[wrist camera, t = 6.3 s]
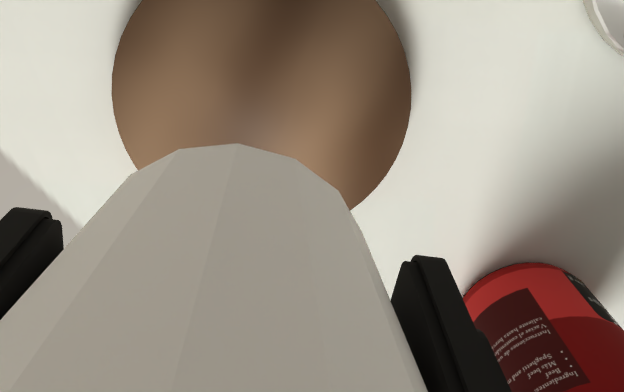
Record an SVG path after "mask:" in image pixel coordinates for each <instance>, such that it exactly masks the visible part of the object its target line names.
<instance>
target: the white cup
mask: <svg viewBox="0 0 624 392" xmlns="http://www.w3.org/2000/svg"><path fill="white" fill-rule="evenodd" d="M0 392H428V391H427V388H426V386H425V383H424V381H423V379H422V376H421V374H420V371H419V369H418V366H417V364H416V362H415V359H414V357H413V354H412V352H411V350H410V347H409V345H408V342H407V340H406V337H405V335H404V333H403V330H402V328H401V325H400V323H399V320H398V318H397V316H396V313H395V311H394V308H393V306H392V304H391V301H390V299H389V296H388V294H387V291H386V289H385V287H384V284H383V282H382V279H381V277H380V275H379V272H378V270H377V267H376V265H375V262H374V260H373V258H372V255H371V253H370V250H369V248H368V245H367V243H366V241H365V238H364V236H363V233H362V231H361V230H360V228H359V226H358V224H357V223H356V221H355V219H354V217H353V215H352V214H351V212H350V210H349V208H348V207H347V205H346V203H345V201H344V200H343V198H342V196H341V194H340V193H339V191H338V190H337V189H335V188H334V187H333V186H331V185H330V184H329V183H327V182H326V181H325V180H323V179H322V178H320V177H319V176H318V175H316V174H315V173H314V172H312V171H311V170H310V169H308V168H307V167H306V166H304V165H303V164H302V163H300V162H299V161H297V160H296V159H294V158H291V157H287V156H283V155H280V154H276V153H272V152H268V151H265V150H261V149H257V148H254V147H250V146H246V145H242V144H239V143H236V144H226V145H216V146H206V147H195V148H185V149H178V150H176V151H174V152H173V153H171V154H169V155H167V156H165V157H163V158H161V159H159V160H157V161H155V162H154V163H152V164H150V165H148V166H146V167H144V168H142V169H140V170H138V171H136V172H135V173H133V174H131V175H130V176H129V177H128V178H127V179H126V180H125V181H124V182H123V184H122V185H121V186H120V187H119V188H118V189H117V190H116V191H115V193H114V194H113V195H112V196H111V197H110V198H109V199H108V200H107V201H106V203H105V204H104V205H103V206H102V207H101V208H100V209H99V210H98V212H97V213H96V214H95V215H94V216H93V217H92V218H91V219H90V220H89V222H88V223H87V224H86V225H85V226H84V227H83V228H82V229H81V231H80V232H79V233H78V234H77V235H76V236H75V237H74V238H73V239H72V241H71V242H70V243H69V244H68V245H67V246H66V247H65V248H64V249H63V251H62V252H61V253H60V254H59V255H58V256H57V257H56V258H55V260H54V261H53V262H52V263H51V264H50V265H49V266H48V267H47V268H46V270H45V271H44V272H43V273H42V274H41V275H40V276H39V277H38V279H37V280H36V281H35V282H34V283H33V284H32V285H31V286H30V287H29V289H28V290H27V291H26V292H25V293H24V294H23V295H22V296H21V298H20V299H19V300H18V301H17V302H16V303H15V304H14V305H13V306H12V308H11V309H10V310H9V311H8V312H7V313H6V314H5V315H4V317H3V318H2V319H1V320H0Z"/></svg>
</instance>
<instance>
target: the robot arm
mask: <svg viewBox="0 0 624 392" xmlns="http://www.w3.org/2000/svg"><path fill="white" fill-rule="evenodd" d="M583 3H584V6H585V8H586V11H587V14H588V16H589V19H590V21H591V22H592V24H593V25H594V27H595V28H596V30H597V31H598V33H599V34H600V36H601V37H602V39H603V40H604V41H605V42H606V43H608V44H609V45H610V46H611V47H612V48H613V49H614V50H615V51H616V52H618V53H619V54H620V55H621V56H623V57H624V0H583ZM63 249H64V248H63V235H62V225H61V222H60V221H59V220H53V219H52V215H51V213H50V212H48V211H44V210H36V209H27V208H19V207H16V208H13V209H11V210H10V211H9V212H8V213H7V214H6V215H5V216H4V217H3V218H2V219H1V220H0V320H1V319H2V318H3V317H4V315H5V314H6V313H7V312H8V311H9V310H10V309H11V308H12V306H13V305H14V304H15V303H16V302H17V301H18V300H19V299H20V298H21V296H22V295H23V294H24V293H25V292H26V291H27V290H28V289H29V287H30V286H31V285H32V284H33V283H34V282H35V281H36V280H37V279H38V277H39V276H40V275H41V274H42V273H43V272H44V271H45V270H46V268H47V267H48V266H49V265H50V264H51V263H52V262H53V261H54V260H55V258H56V257H57V256H58V255H59V254H60V253H61V252H62V251H63ZM391 304H392V306H393V308H394V311H395V313H396V316H397V318H398V320H399V323H400V325H401V328H402V330H403V333H404V335H405V337H406V340H407V342H408V345H409V347H410V350H411V352H412V354H413V357H414V359H415V362H416V364H417V366H418V369H419V371H420V374H421V376H422V379H423V381H424V383H425V386H426V388H427V391H428V392H512V391H511V389H510V387H509V384H508V382H507V380H506V378H505V376H504V374H503V371H502V369H501V367H500V365H499V363H498V361H497V358H496V356H495V354H494V352H493V350H492V348H491V345H490V343H489V341H488V339H487V337H486V336H485V334H484V333H483V332H482V331H481V330H479V329H476V328H475V325H474V323H473V321H472V319H471V316H470V314H469V312H468V310H467V307H466V305H465V303H464V301H463V298H462V296H461V294H460V292H459V289H458V287H457V285H456V283H455V280H454V278H453V276H452V274H451V271H450V269H449V267H448V265H447V262H446V261H445V259H443V258H437V257H428V256H420V255H415V256H414V257H413V258H412V260H411V262H408V261H404V262H403V263H402V265H401V268H400V271H399V274H398V278H397V281H396V284H395V288H394V291H393V294H392V298H391Z"/></svg>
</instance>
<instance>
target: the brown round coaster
mask: <svg viewBox="0 0 624 392" xmlns="http://www.w3.org/2000/svg"><path fill="white" fill-rule="evenodd" d="M112 101H113V109H114V115H115V119H116V123H117V127H118V131H119V134H120V136H121V139H122V141H123V144H124V146H125V149H126V151H127V152H128V154H129V156H130V158H131V160H132V161H133V163H134V165H135V166H136V168H137V169H138V170H140V169H142V168H144V167H146V166H148V165H150V164H152V163H154V162H155V161H157V160H159V159H161V158H163V157H165V156H167V155H169V154H171V153H173V152H174V151H176V150H178V149H185V148H195V147H206V146H216V145H226V144H236V143H239V144H242V145H246V146H250V147H254V148H257V149H261V150H265V151H268V152H272V153H276V154H280V155H283V156H287V157H291V158H294V159H296V160H297V161H299V162H300V163H302V164H303V165H304V166H306V167H307V168H308V169H310V170H311V171H312V172H314V173H315V174H316V175H318V176H319V177H320V178H322V179H323V180H325V181H326V182H327V183H329V184H330V185H331V186H333V187H334V188H335V189H337V190H338V191H339V193H340V194H341V196H342V198H343V200H344V201H345V203H346V205H347V207H348V208H349V210H351V209H353V208H354V207H355V206H357V205H358V204H359V203H361V202H362V201H363V200H364V199H365V198H366V197H367V196H368V195H369V194H370V193H371V192H372V191H373V190H374V189H375V188H376V187H377V186H378V185H379V183H380V182H381V181H382V180H383V178H384V177H385V176H386V175H387V173H388V171H389V170H390V168H391V166H392V165H393V163H394V161H395V160H396V158H397V155H398V153H399V151H400V149H401V146H402V144H403V141H404V138H405V134H406V131H407V128H408V122H409V116H410V110H411V83H410V74H409V68H408V64H407V60H406V56H405V52H404V50H403V47H402V44H401V42H400V39H399V37H398V34H397V32H396V31H395V29H394V27H393V25H392V24H391V22H390V20H389V18H388V17H387V15H386V14H385V12H384V11H383V10H382V9H381V7H380V6H379V5H378V3H377V2H376V1H375V0H142V2H141V3H140V5H139V6H138V8H137V9H136V10H135V12H134V13H133V15H132V16H131V18H130V20H129V22H128V24H127V26H126V28H125V30H124V32H123V34H122V36H121V39H120V42H119V45H118V49H117V52H116V55H115V61H114V67H113V73H112Z"/></svg>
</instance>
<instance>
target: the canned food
mask: <svg viewBox="0 0 624 392" xmlns="http://www.w3.org/2000/svg"><path fill="white" fill-rule="evenodd" d="M463 301H464V303H465V305H466V307H467V310H468V312H469V314H470V316H471V319H472V321H473V323H474V325H475V328H476V329H479V330H481V331H482V332H483V333H484V334H485V336H486V337H487V339H488V341H489V343H490V345H491V348H492V350H493V352H494V354H495V356H496V358H497V361H498V363H499V365H500V367H501V369H502V371H503V374H504V376H505V378H506V380H507V382H508V384H509V387H510V389H511V391H512V392H624V330H623V329H622V328H621V327H620V326H619V325H618V323H617V322H616V321H615V320H614V319H613V317H612V316H611V315H610V314H609V313H608V312H607V310H606V309H605V308H604V307H603V306H602V305H601V303H600V302H599V301H598V300H597V299H596V297H595V296H594V295H593V294H592V293H591V292H590V290H589V289H588V288H587V287H586V286H585V285H584V283H583V282H582V281H581V280H579V279H578V278H576V277H575V276H573V275H572V274H570V273H568V272H566V271H565V270H563V269H561V268H558V267H556V266H553V265H549V264H544V263H522V264H515V265H511V266H508V267H504V268H501V269H499V270H497V271H495V272H492V273H490V274H489V275H487V276H486V277H484V278H482V279H481V280H479V281H478V282H477V283H476V284H475V285H474V286H473V287H472V288H470V290H469V291H468V292H467V293H466V295H465V296H464V297H463Z"/></svg>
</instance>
